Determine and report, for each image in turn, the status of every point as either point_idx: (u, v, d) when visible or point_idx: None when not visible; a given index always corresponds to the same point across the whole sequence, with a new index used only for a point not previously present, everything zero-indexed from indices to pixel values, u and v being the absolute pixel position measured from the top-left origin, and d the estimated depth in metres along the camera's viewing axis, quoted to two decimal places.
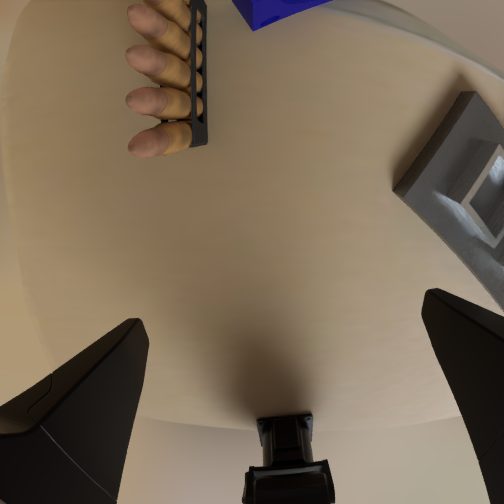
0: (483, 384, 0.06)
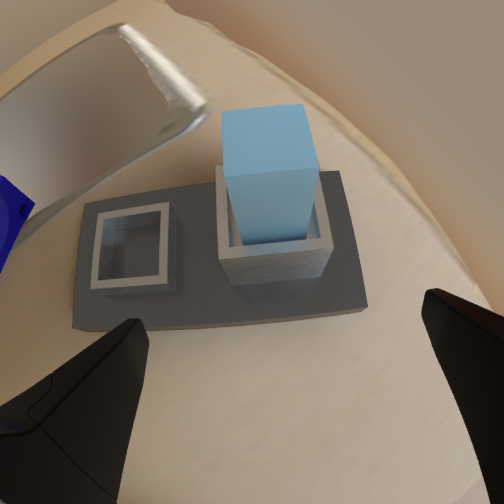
0: (483, 384, 0.06)
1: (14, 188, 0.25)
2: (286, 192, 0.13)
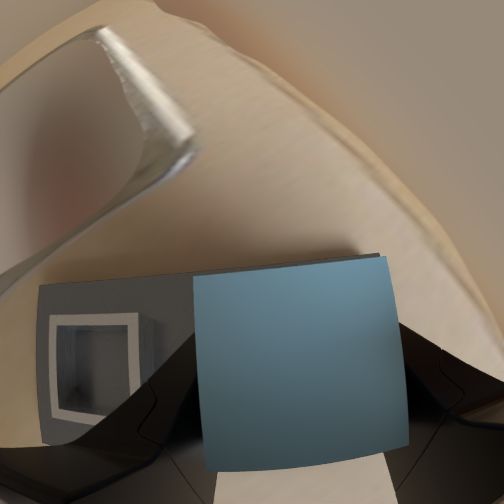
0: None
1: None
2: None
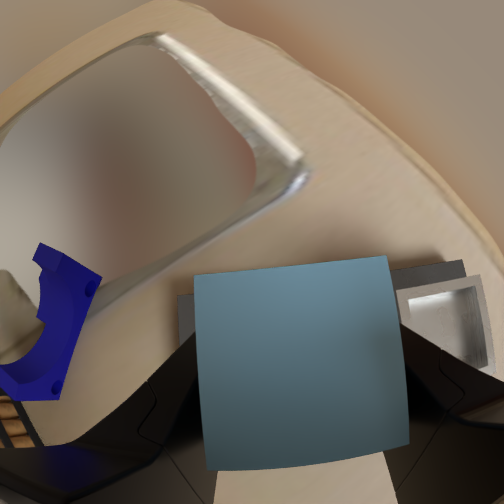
0: None
1: (77, 265, 0.21)
2: None
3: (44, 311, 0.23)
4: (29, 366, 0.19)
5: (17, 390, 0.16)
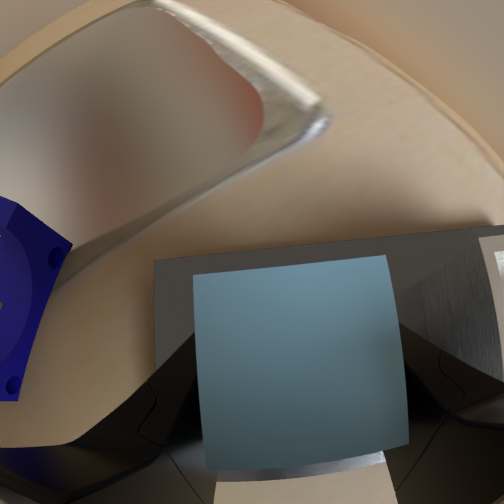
0: None
1: (38, 223, 0.15)
2: None
3: (2, 287, 0.16)
4: None
5: None
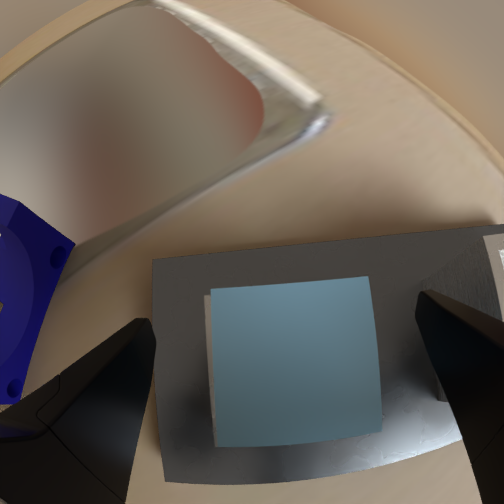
0: (476, 387, 0.06)
1: (40, 222, 0.15)
2: None
3: (2, 288, 0.16)
4: None
5: None
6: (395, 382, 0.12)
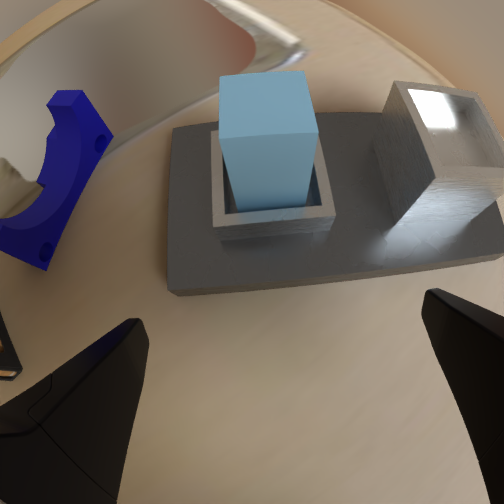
0: (483, 384, 0.06)
1: (93, 110, 0.19)
2: (284, 158, 0.12)
3: (46, 173, 0.21)
4: (18, 221, 0.17)
5: None
6: (355, 204, 0.17)
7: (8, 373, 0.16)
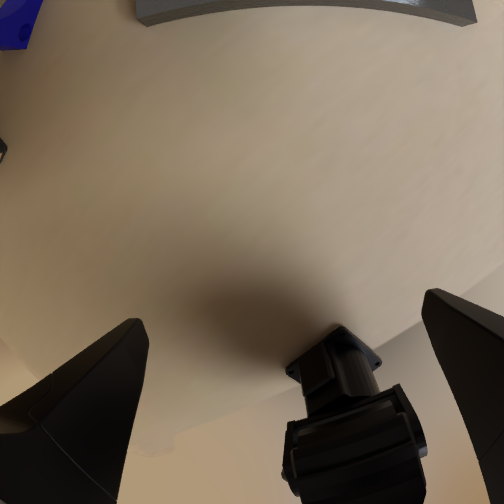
0: (483, 384, 0.06)
1: None
2: None
3: None
4: None
5: None
6: None
7: None
